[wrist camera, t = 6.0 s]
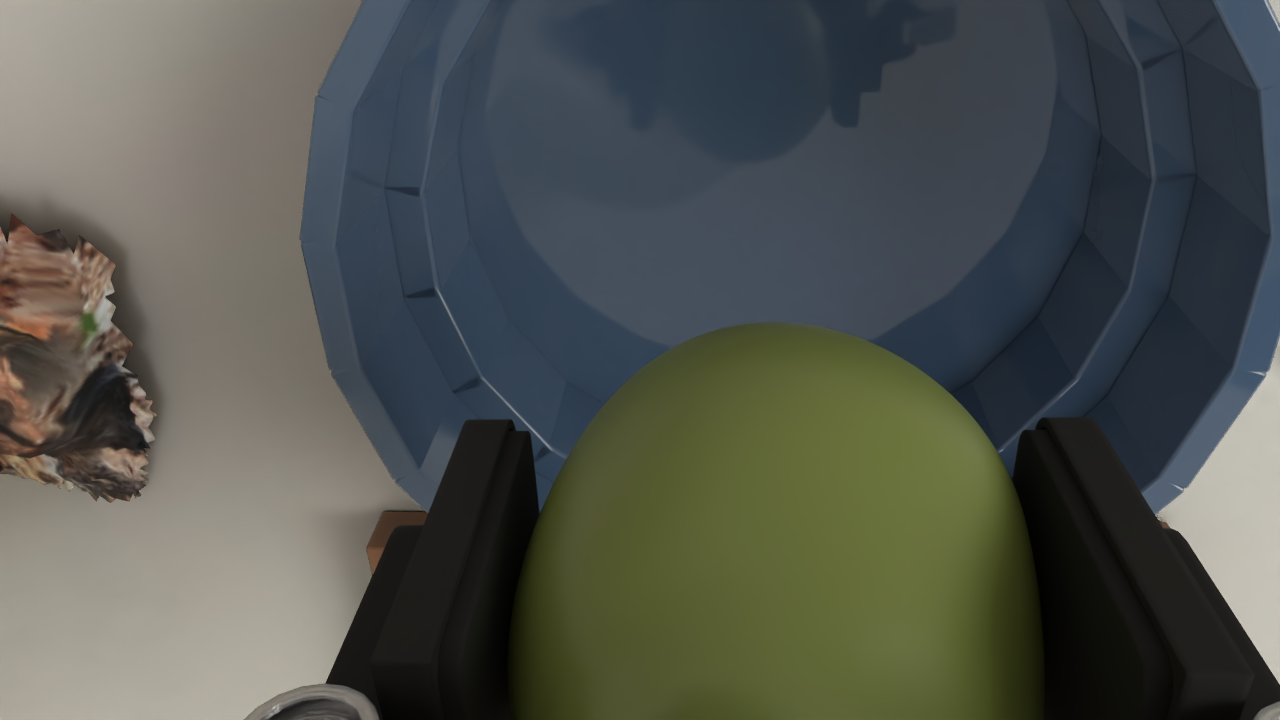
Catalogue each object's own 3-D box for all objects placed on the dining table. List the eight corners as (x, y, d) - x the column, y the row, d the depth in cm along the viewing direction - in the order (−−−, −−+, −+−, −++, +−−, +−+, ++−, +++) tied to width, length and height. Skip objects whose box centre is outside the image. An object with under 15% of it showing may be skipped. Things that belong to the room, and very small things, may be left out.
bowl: (457, 474, 26) (390, 647, 21) (344, -225, 18) (191, -229, 13) (1084, 480, 25) (1179, 667, 19) (1246, -272, 17) (1477, -296, 12)
